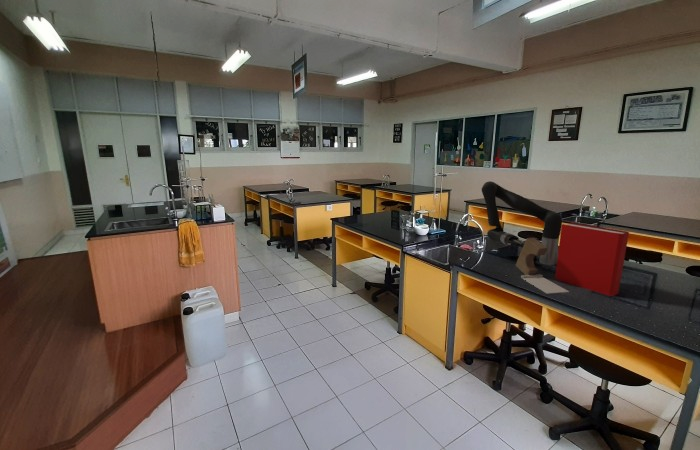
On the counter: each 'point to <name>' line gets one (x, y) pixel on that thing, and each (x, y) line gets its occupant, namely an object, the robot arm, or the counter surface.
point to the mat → (543, 284)
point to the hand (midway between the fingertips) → (526, 247)
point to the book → (591, 257)
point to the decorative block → (530, 256)
